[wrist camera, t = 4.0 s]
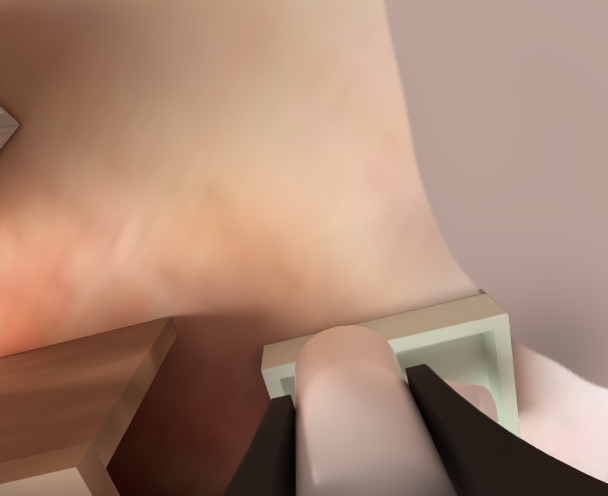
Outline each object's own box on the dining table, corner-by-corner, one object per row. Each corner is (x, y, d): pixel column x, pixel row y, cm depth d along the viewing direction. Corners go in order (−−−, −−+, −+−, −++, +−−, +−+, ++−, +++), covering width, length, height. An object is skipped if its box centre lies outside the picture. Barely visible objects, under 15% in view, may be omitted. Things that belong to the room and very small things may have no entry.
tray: (495, 411, 25) (521, 448, 22) (301, 454, 26) (302, 495, 23) (481, 288, 23) (508, 312, 20) (264, 339, 23) (260, 370, 20)
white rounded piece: (404, 400, 14) (470, 563, 9) (308, 422, 14) (317, 594, 9) (387, 314, 13) (450, 442, 8) (283, 338, 13) (276, 480, 8)
